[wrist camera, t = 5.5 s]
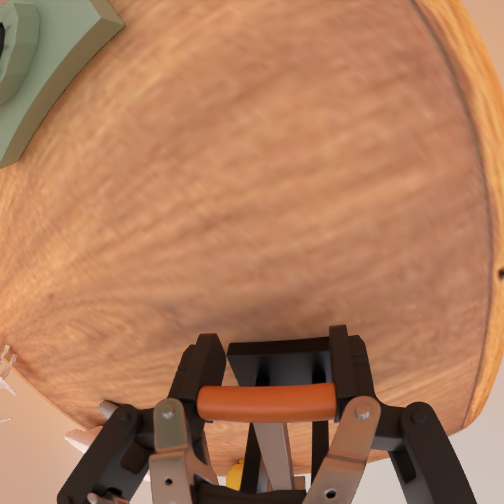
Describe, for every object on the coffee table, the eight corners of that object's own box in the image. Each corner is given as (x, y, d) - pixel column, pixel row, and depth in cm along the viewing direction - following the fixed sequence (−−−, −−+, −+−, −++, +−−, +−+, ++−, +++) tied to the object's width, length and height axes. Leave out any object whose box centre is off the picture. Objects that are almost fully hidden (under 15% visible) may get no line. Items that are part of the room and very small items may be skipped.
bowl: (112, 411, 31) (96, 447, 25) (192, 460, 39) (184, 489, 33) (62, 404, 37) (49, 429, 31) (128, 450, 45) (120, 473, 39)
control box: (-17, 77, 9) (-52, 86, 6) (72, -46, 5) (34, -58, 1) (18, 161, 13) (-23, 181, 9) (126, 25, 9) (76, 11, 5)
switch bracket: (228, 342, 18) (189, 508, 8) (346, 334, 17) (363, 513, 7) (255, 408, 23) (238, 520, 13) (340, 403, 21) (343, 520, 11)
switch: (207, 371, 10) (187, 411, 8) (333, 366, 9) (338, 412, 7) (253, 490, 13) (247, 517, 11) (326, 490, 12) (325, 517, 10)
